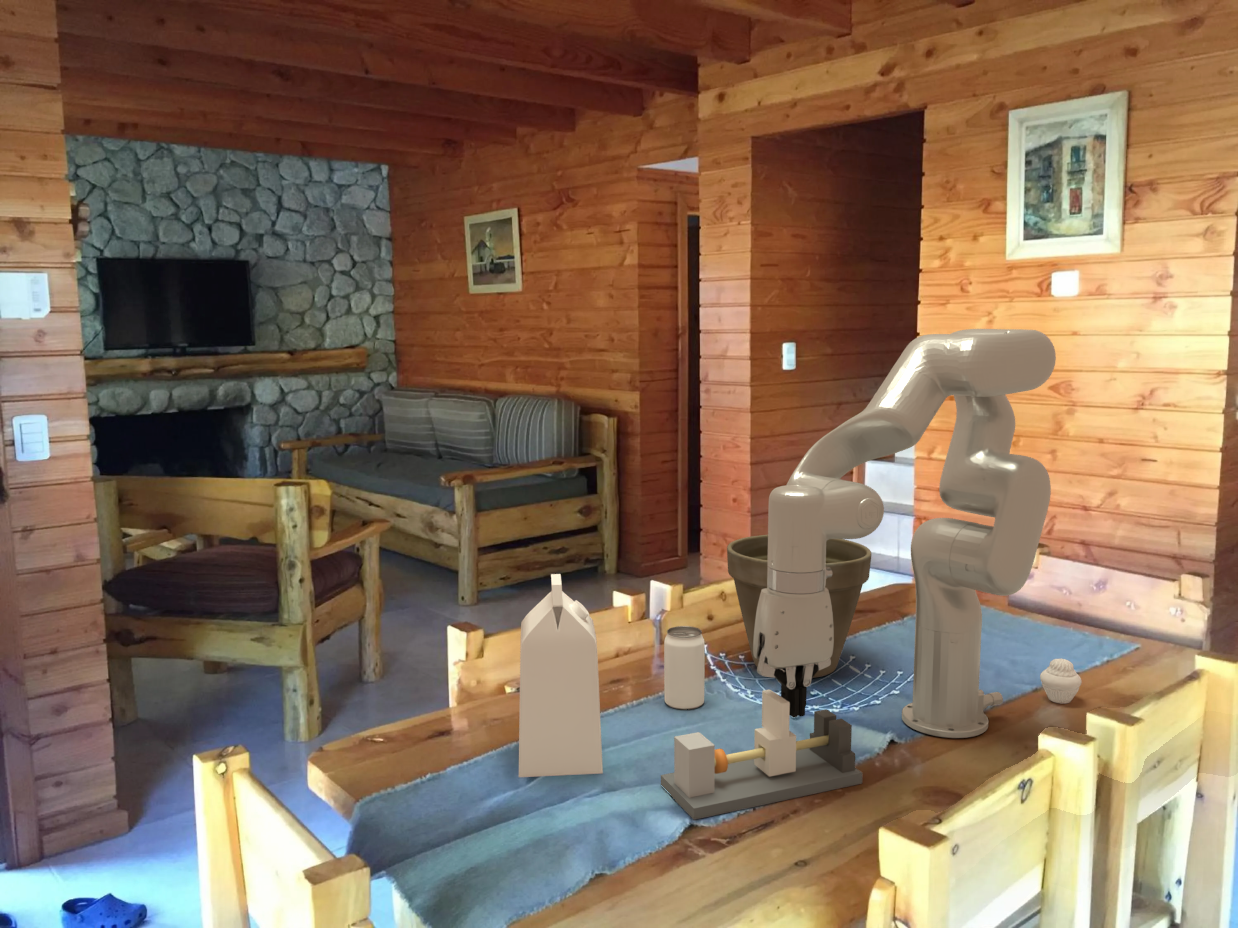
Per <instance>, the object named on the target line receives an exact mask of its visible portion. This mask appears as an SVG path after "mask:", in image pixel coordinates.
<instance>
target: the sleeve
mask: <svg viewBox="0 0 1238 928" xmlns="http://www.w3.org/2000/svg"><path fill="white" fill-rule="evenodd" d="M761 692H762V693H761V694H762V695H761V727H759V728H754V747H753V748H754V749H758V748H765V757H762V758H757V759H754V764H755V765H756V766H757V767H758V768H759V769H761V770H762V771H763V772H764V773H766V774H767V775H768V776H769V777H770V776H775V775H780V774H785V773H790V772H795V771H796V741H797V735H796V734H795V733H793V732H792V731H791V730H790V715H789V712H790V702H788V701H787V700H785V699H784V698H782V697H781V695H779V694H777V693H776V691H775V692H774V691H773V690H772V689H766V690H765V689H764V690H762V691H761Z"/></svg>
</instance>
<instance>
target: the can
mask: <svg viewBox="0 0 1238 928" xmlns="http://www.w3.org/2000/svg"><path fill="white" fill-rule="evenodd" d="M702 633H703V631H702V630H701V629H700V628H699V627H695V626H690V625H677V626H673V627H670V628H668V629H667V630H666V635H665V638H664V644H663V645H664V646H663V647H664V648H663V649H664V650H663V653H664V654H663V656H664V657H663V666H664V667H663V668H664V669H663V673H664V674H663V675H664V676H663V677H664V678H663V680H664V684H663V685H664V691H663V692H664V702H665V703H666V705H667V706H669V707H670V708H672V709H677V710H683V711H684V710H687V709H688V710H695V709H697V708H699V707H701V706H702V705H703V704H704V703H705V673H706V672H705V665H706V663H705V653H706V651H705V639H704V637H703V635H702Z"/></svg>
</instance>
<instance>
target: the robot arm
mask: <svg viewBox="0 0 1238 928" xmlns="http://www.w3.org/2000/svg"><path fill="white" fill-rule="evenodd" d="M1056 354H1057V353H1056V349H1055V346H1054V344H1053V342H1052V340H1051V339H1050V338H1049V337H1048V336H1047V335H1046V334H1045V333H1043V332H1042V331H1039V330H1036V329H1022V328H1021V329H1019V328H1018V329H1017V328H1016V329H1014V328H1013V329H1012V328H1010V329H1009V328H1007V329H1005V328H1003V329H1001V328H999V329H998V328H970V329H969V328H968V329H962V330H957V331H953V332H951V333H931V334H923V335H920V336H917V337H915V338H914V339H913V340H912V341H910V342H909V343H908V344H907V345H906V347H905V348H904V350H903V351H902V352H901V355H900V356H899V357H898V358H897V360H896V362H895V363H894V365H893V366H892V368H891V369H890V371H889V372H888V374H887V376H886V377H885V379H884V380H883V382H882V383H881V385H879V388H878V389H877V391H876V392H875V394H874V395H873V397H872V398H871V399H870V402H869V403H868V404H867V406H866V407H865V408H864V409H863V410H862V411H861V412H859V413H858V414H856V415H854V416H853V417H851V418H849V419H848V420H846V421H844V422H843V423H841V424H840V425H838V426H837V427H835V428H834V429H832V430H831V431H830V432H828V433H826V434H825V435H823V436H822V437H821V438H820V439H819V440H817V441H816V442H815V443H814V444H813V445H812V446H811V447H810V448H809V449H808V450H807V452H806V453H805V454H804V456H803V457H802V458H801V460H800V461H799V463H798V465H797V466H796V468H795V469H794V470H793V472H792V474H791V475H790V477H789V480H787V483H786V485H781V486H777V487H775V488H773V490H771V492H770V493H769V497H768V515H767V516H768V519H767V521H768V523H767V535H768V571H767V588H765V589H762V590H761V594H760V597H759V601H758V606H757V612H756V619H755V628H754V640H753V654H754V657H755V658H756V659H759V663H758V667H756V673H757V674H759V675H760V676H762V677H766V678H767V677H768V678H775V679H776V681H777V682H778V683H779V684H780V685H781V686H780V696H781V697H782V698H784V699H785V700H787V701H788V702H790V712H789V717H792V718H798V717H804V716H805V715H806V706H807V693H808V692H807V689H808V687H810V685H811V684H812V679H814V678H813V676H814V675H815V674H816V673H817V671H818V670H821V669H824V668H826V667H828V666H830V664H831V660H830V658H831V656H832V654H833V646H834V627H833V613H832V605H831V599H830V595H829V590H828V589H827V588H825V585H826V579H827V578H829V577H832V569H831V568H829V567H828V568H826V541H827V540H828V539H845V540H857V539H862V538H865V537H867V536H869V535H871V534H872V533H874V532H876V530H877V529H878V527H879V526H881V523H882V521H883V517H884V515H885V513H884V512H885V507H884V503H883V499H882V498H881V496H880V494H879V493H878V492H877V491H876V490H875V489H874V488H872V487H870V486H869V485H867V484H864V483H860V482H855V481H850V480H845V479H842V478H843V477H844V476H845V475H846V474H847V473H848V472H850V471H851V470H853V469H854V468H856V467H858V466H860V465H863V464H865V463H866V462H870V461H873V460H876V459H880V458H884V457H887V456H891V455H894V454H897V453H899V452H902V451H905V450H908V449H910V448H912V447H913V446H915V445H916V444H918V443H919V441H920V440H921V439H922V436H923V435H924V434H925V432H926V430H927V429H928V428H929V425H930V423H931V422H932V421H933V419H934V418H935V416H936V414H937V413H938V412H939V410H940V408H941V406H942V405H943V403H945V401H946V399H947V398H948V397H950V396H953V398H954V402H955V408H956V417H955V424H954V427H953V432H952V435H951V439H950V443H949V446H948V448H947V449H948V450H947V453H946V457H945V461H944V464H943V466H942V467H943V468H942V471H941V475H940V476H941V477H940V481H939V487H938V488H939V489H938V491H939V496H940V498H941V499H940V500H941V501H942V502H943V503H944V505H946V506H948V507H949V508H951V509H954V510H957V511H959V512H964V513H970V514H974V515H977V516H978V515H980V516H985V517H990V518H994V522H993V526H992V525H987V524H982V523H978V522H974V521H968V520H962V519H956V518H953V517H952V518H951V517H936V518H935V517H934V518H931V519H928V520H926V521H924V522H923V523H920V525H919V526H918V527H917V528H916V530H915V531H914V533H913V536H912V539H911V542H910V561H911V564H912V565H911V566H912V570H913V577H914V583H915V625H914V648H913V649H914V651H913V652H914V653H913V677H912V678H913V680H912V681H913V683H912V702H910V703H908V704H906V705H905V706H903V708H902V709H901V719H902V721H903V723H904V724H905V725H906V726H908V727H910V728H911V729H913V730H914V731H915V730H916V731H917V732H920V733H922V734H926V735H930V736H933V737H939V738H949V739H964V738H965V739H966V738H973V737H976V736H979V735H981V734H983V733H984V732H985V733H986V731H987V730H988V728H989V719H988V716H987V715H986V713H984V710H986V709H988V707H994V706H998V705H999V706H1000V705H1002V704H1003V702H1004V697H1003V695H1002V694H1001V693H1000V692H999V691H994V692H989V693H986V694H985V692H984V691H983V689H980V675H981V674H980V671H981V670H980V669H981V649H982V648H981V647H982V630H983V629H982V628H983V613H982V607H981V602H980V600H979V597H978V594H977V591H978V592H983V593H985V594H986V593H987V594H991V595H994V596H995V595H996V596H1003V597H1005V596H1011V595H1014V594H1016V593H1019V591H1020V590H1021V589H1023V587H1024V585H1025V584H1026V583H1027V581H1028V578H1029V576H1030V574H1031V572H1032V569H1033V565H1034V561H1035V557H1036V555H1037V550H1038V547H1039V544H1040V540H1041V536H1042V534H1043V533H1042V532H1043V529H1044V525H1045V521H1046V518H1047V514H1048V510H1049V505H1050V502H1051V494H1052V493H1051V491H1052V488H1051V486H1052V485H1051V478H1050V475H1049V472H1048V470H1047V468H1046V466H1044V464H1043V463H1041V462H1040V461H1039V460H1037V459H1036V458H1034V457H1031V456H1028V455H1022V454H1015V453H1013V454H1012V453H1011V448H1012V445H1013V443H1012V442H1013V438H1014V435H1015V430H1016V416H1015V413H1014V410H1013V406H1012V404H1011V403H1010V401H1009V398H1008V397H1007V395H1011V394H1017V393H1024V392H1027V391H1032V390H1036V389H1037V388H1039V387H1041V386H1043V384H1045V383H1046V382H1047V381H1048V380H1049V379H1050V377H1051V376H1052V374H1053V372H1054V369H1055V366H1056V362H1057V361H1056V360H1057V357H1056Z"/></svg>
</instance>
